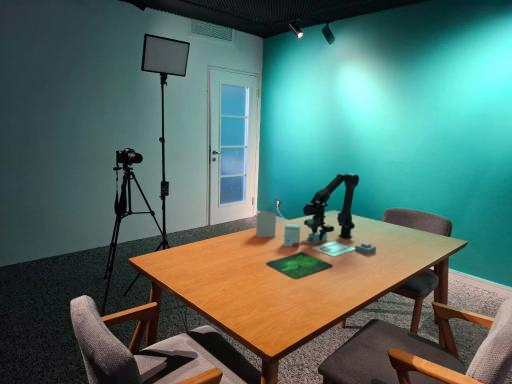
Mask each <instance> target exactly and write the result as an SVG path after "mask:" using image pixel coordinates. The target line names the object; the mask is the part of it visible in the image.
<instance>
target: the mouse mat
mask: <svg viewBox="0 0 512 384" xmlns="http://www.w3.org/2000/svg"><path fill="white" fill-rule="evenodd" d="M265 266H268V267H269V268H271V269H272V270H276V271H277V272H279V273H280V274H283V275H284V276H285V277H288V278H290V279H292V280H300V279H303V278H306V277H308V276H311V275H314V274H316V273H319V272H322V271H325V270H327V269H329V268H332V267H333V264H331V263H329V262H327V261H325V260H323V259H320V258H318V257H315V256H313V255H311V254H308V253H306V252H303V251H302V252H301V251H299V252H297V253H294V254H291V255H288V256H285V257H281V258H278V259H274V260H271V261H267V262H266V263H265Z"/></svg>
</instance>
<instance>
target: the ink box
mask: <svg viewBox="0 0 512 384" xmlns="http://www.w3.org/2000/svg"><path fill="white" fill-rule="evenodd" d="M300 234H301V225H300V224H288V223H287V224H284V235H283V236H284V237H283V238H284V239H283V246H284V247H293V248H294V247H295V248H299V247H300V237H301V235H300Z"/></svg>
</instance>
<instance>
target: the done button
mask: <svg viewBox="0 0 512 384" xmlns="http://www.w3.org/2000/svg"><path fill="white" fill-rule="evenodd" d="M360 244H361V246H363V247H366V248H369V247H371V245H372V243H369V242H367V241H364V242H361V243H360Z"/></svg>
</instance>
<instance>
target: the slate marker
mask: <svg viewBox="0 0 512 384" xmlns="http://www.w3.org/2000/svg"><path fill="white" fill-rule="evenodd" d="M306 241H307V243H310V244H311V245H315V243H316V244H318V243H322V241H323V242H326V241H328V232H326V233H325V235H324V236H323V238H322V240H320V232H319V231H317V232H315V233H312V232H311V233H309V234H308V237H307V238H306Z"/></svg>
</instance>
